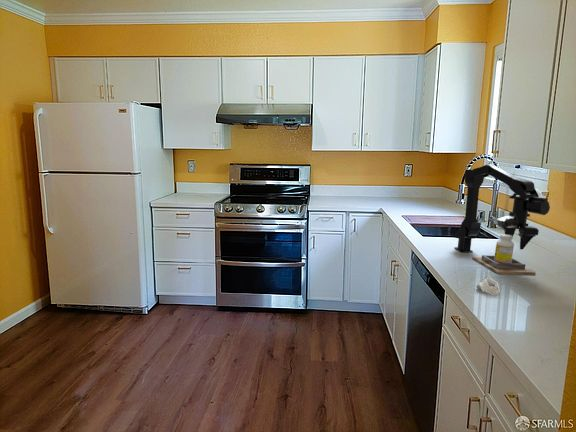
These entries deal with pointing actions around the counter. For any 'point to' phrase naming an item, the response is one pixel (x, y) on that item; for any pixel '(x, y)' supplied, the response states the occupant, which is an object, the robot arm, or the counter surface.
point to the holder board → (503, 266)
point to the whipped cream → (489, 286)
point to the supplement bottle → (504, 249)
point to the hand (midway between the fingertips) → (514, 246)
